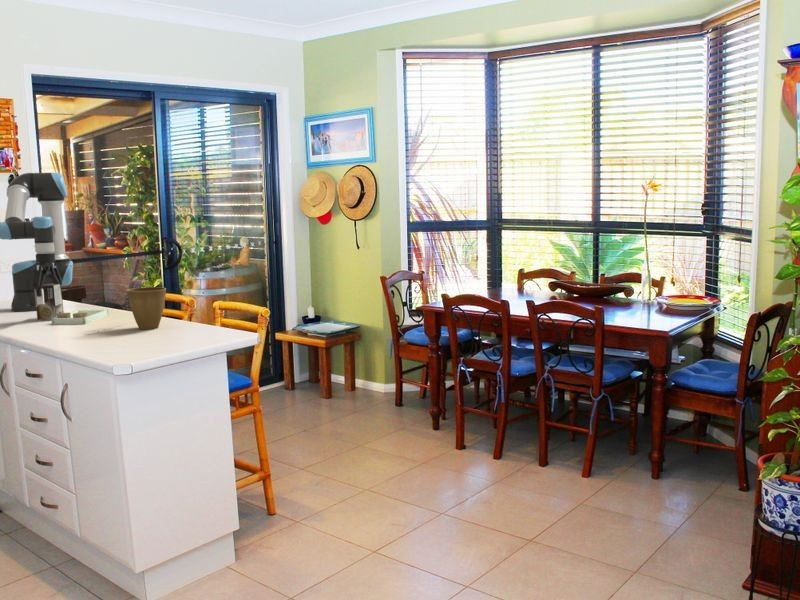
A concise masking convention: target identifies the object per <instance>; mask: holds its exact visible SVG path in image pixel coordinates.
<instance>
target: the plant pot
mask: <svg viewBox="0 0 800 600" xmlns="http://www.w3.org/2000/svg"><path fill="white" fill-rule="evenodd" d="M126 292H127V297H128V301H129V305H130V309H131V312H132V315H133V318H134V320H135V323H136V325H137V327H138V329H139V330H144V329H147V330H154V329H155V328H156V329H158V328H159V326H160V323H161V320H162V316H163V312H164V308H165V301H166V295H167V288H166V287H159V286H154V287H153V286H149V287H148V286H147V287H144V286H143V287H134V288H127V290H126ZM156 329H155V330H156Z"/></svg>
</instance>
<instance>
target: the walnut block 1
mask: <svg viewBox="0 0 800 600" xmlns="http://www.w3.org/2000/svg"><path fill="white" fill-rule="evenodd" d="M57 318H71V315H70V312H64V313H59V314H57Z"/></svg>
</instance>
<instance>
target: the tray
mask: <svg viewBox="0 0 800 600" xmlns="http://www.w3.org/2000/svg"><path fill="white" fill-rule="evenodd" d="M79 312H82V313H87V314H88V316H87V317H84V318H73V314H75V313H79ZM69 313H70V315H71V318H57V317H55V318H52V320H51V326H52V325H56V326H58V325H86V324H90V323H92V322H95V321H97V320H100V319H103V318H106V317H108V316H109V309H82V310H81V309H77V310H73V311H71V312H69Z"/></svg>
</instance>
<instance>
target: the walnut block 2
mask: <svg viewBox="0 0 800 600" xmlns="http://www.w3.org/2000/svg"><path fill="white" fill-rule="evenodd" d="M87 316H88V314H87V313H82V312H79V313H75V314H73V318H84V317H87Z"/></svg>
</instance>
